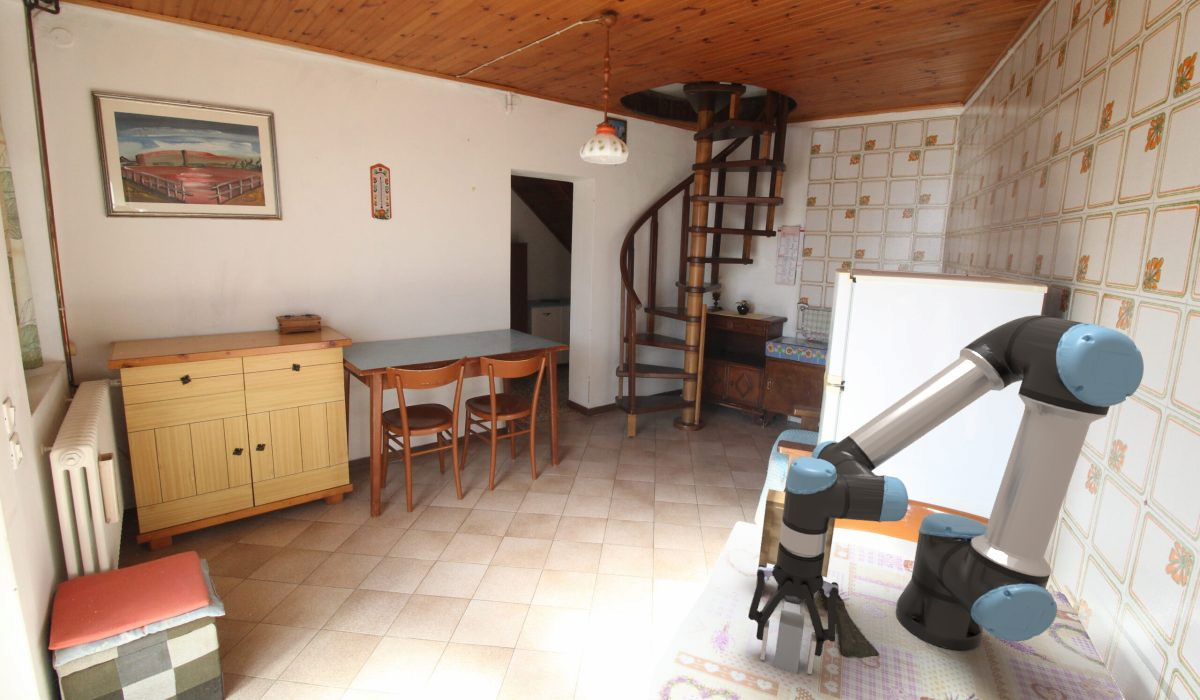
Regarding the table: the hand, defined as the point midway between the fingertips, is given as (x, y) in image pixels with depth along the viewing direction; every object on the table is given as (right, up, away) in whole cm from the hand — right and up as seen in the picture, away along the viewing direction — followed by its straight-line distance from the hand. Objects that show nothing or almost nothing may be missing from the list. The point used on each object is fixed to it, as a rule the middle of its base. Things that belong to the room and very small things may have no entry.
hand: (786, 661), depth 104 cm
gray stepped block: (+2, +1, +6) cm, 7 cm away
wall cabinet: (+8, +3, +20) cm, 22 cm away
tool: (+16, +1, +12) cm, 20 cm away
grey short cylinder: (+8, +3, +20) cm, 22 cm away
